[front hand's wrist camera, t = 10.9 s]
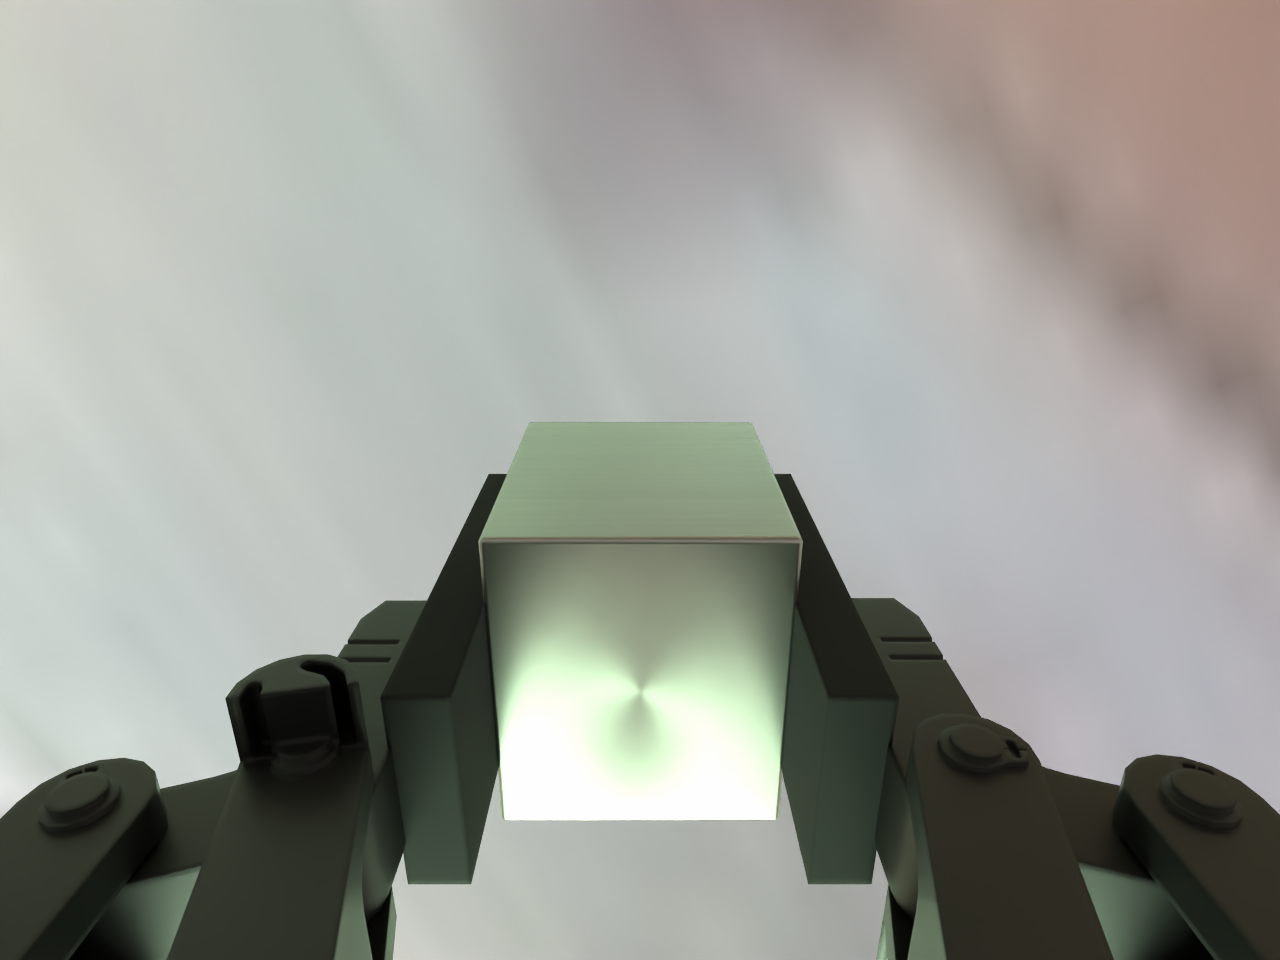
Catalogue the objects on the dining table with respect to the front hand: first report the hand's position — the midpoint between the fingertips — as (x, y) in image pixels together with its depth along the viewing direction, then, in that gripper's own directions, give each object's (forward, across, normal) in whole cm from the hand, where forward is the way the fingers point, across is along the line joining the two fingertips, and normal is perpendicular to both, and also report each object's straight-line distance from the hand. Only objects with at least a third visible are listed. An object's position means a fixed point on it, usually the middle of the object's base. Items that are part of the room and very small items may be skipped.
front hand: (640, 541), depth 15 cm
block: (0, 0, 0) cm, 0 cm away
